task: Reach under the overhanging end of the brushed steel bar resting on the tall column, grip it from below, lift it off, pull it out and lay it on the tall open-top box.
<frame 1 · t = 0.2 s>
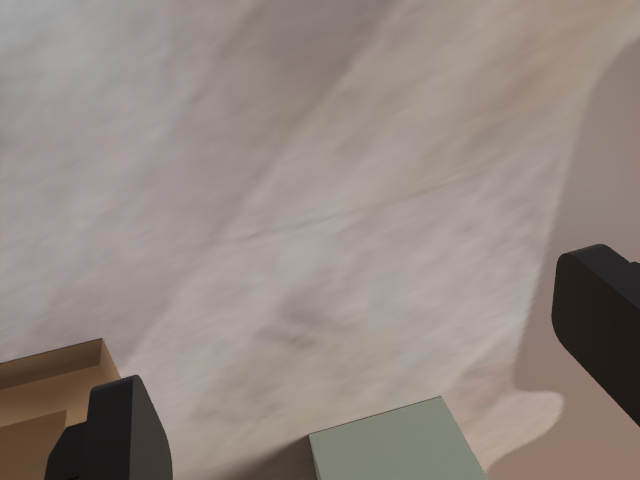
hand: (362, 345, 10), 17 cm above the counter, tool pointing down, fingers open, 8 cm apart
tall column: (31, 437, 33), on the counter
tall open-top box: (379, 456, 43), on the counter
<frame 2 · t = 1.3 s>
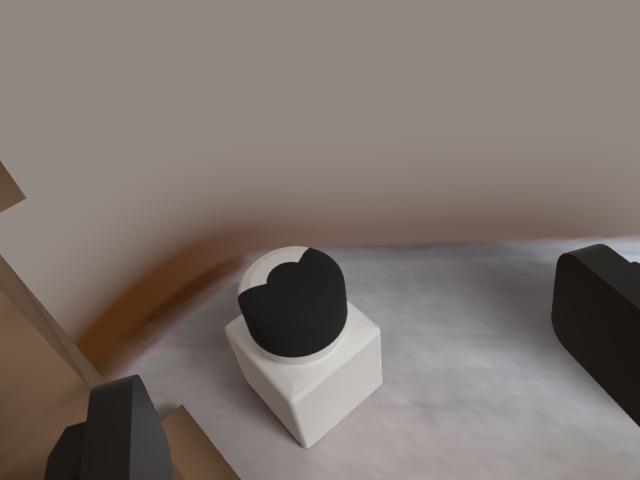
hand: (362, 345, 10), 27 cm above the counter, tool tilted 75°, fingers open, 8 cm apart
medicine bottle: (314, 383, 40), on the counter
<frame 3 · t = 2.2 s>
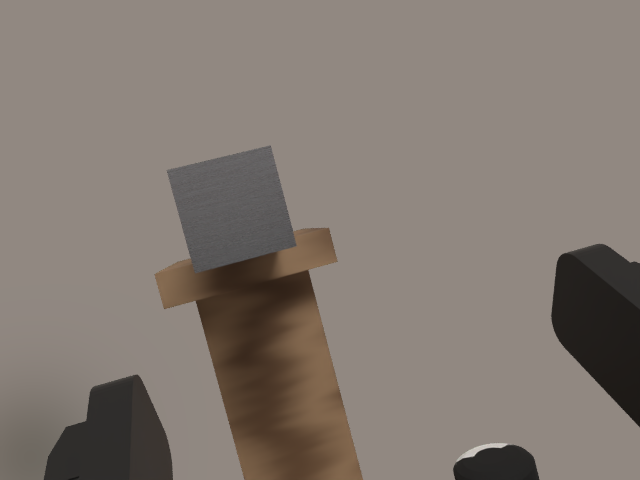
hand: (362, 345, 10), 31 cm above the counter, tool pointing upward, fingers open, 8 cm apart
brushed steel bar: (243, 249, 33), point 32 cm above the counter, touching tall column
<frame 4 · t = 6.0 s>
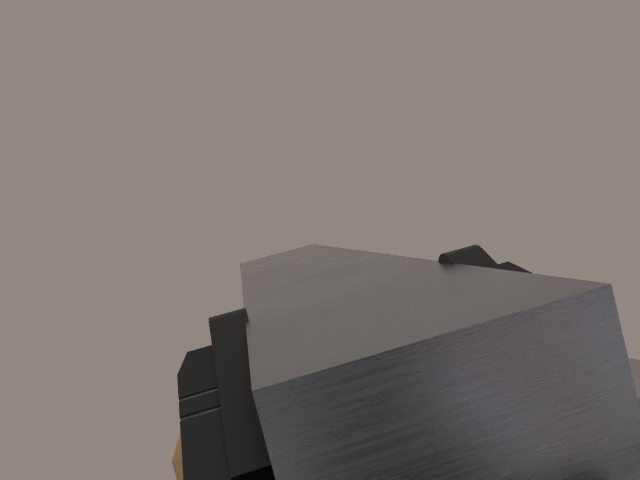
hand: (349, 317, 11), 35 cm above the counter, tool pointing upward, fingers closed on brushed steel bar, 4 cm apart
brushed steel bar: (334, 387, 18), point 32 cm above the counter, touching gripper, tall column
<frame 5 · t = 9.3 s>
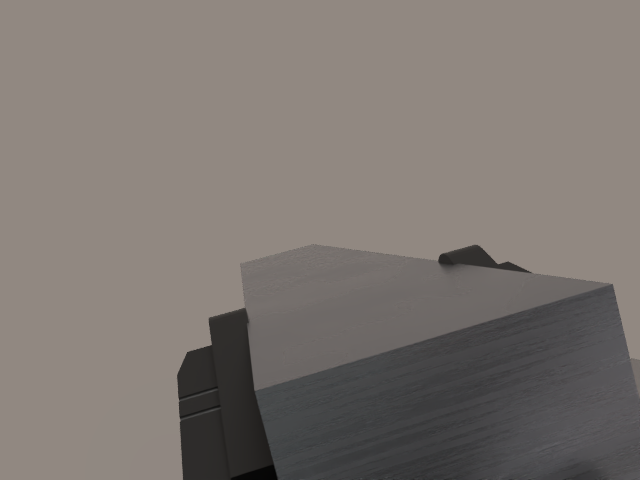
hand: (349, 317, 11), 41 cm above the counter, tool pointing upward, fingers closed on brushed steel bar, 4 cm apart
brushed steel bar: (335, 387, 18), point 38 cm above the counter, touching gripper
when the fingers open (25 cm above the counter, at t = 12.8 s): brushed steel bar drops 2 cm, resting on tall open-top box.
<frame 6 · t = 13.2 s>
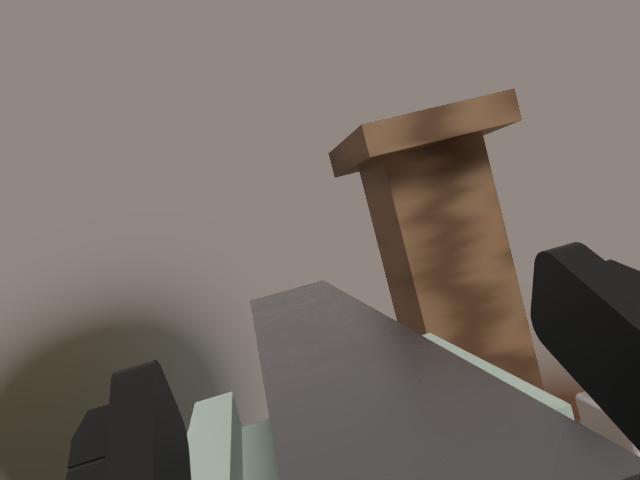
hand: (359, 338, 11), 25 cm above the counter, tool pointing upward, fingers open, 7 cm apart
brushed steel bar: (350, 449, 18), point 20 cm above the counter, touching tall open-top box
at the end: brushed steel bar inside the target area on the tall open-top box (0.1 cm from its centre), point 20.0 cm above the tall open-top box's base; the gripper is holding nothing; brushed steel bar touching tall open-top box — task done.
